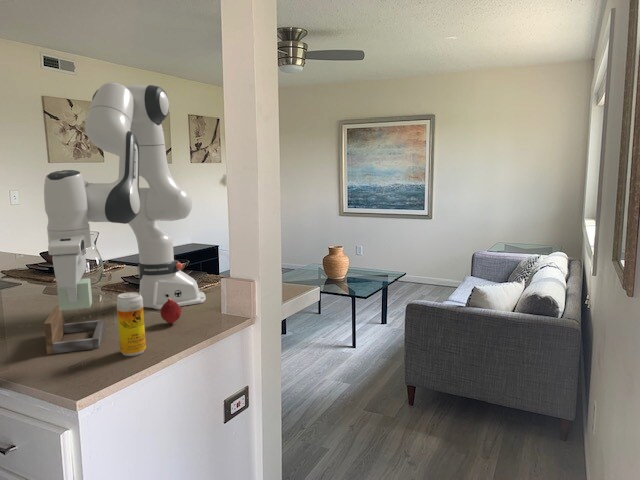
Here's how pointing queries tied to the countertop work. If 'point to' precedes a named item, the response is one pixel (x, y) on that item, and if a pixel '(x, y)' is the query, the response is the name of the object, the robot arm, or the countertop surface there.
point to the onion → (170, 311)
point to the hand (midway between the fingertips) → (75, 297)
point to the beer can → (131, 323)
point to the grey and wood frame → (57, 329)
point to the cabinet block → (83, 296)
